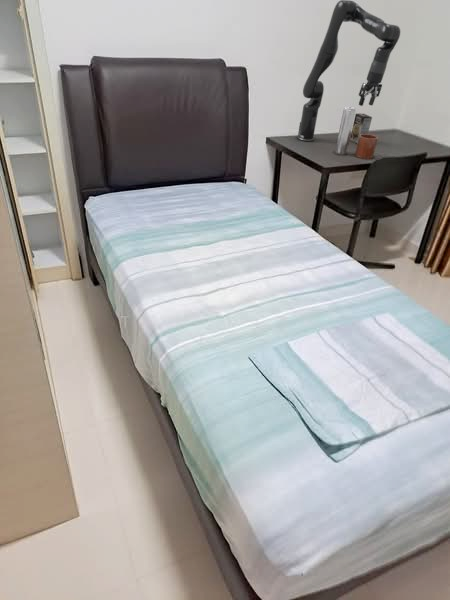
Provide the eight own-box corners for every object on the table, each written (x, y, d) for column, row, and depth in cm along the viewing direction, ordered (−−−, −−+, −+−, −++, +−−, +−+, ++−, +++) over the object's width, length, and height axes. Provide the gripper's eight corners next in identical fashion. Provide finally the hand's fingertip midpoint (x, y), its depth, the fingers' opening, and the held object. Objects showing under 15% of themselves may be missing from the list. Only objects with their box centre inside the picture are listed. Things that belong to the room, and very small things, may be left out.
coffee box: (349, 140, 278) (355, 113, 269) (357, 139, 280) (363, 113, 271) (357, 144, 271) (363, 116, 262) (365, 143, 273) (372, 116, 264)
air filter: (348, 154, 250) (358, 108, 236) (338, 155, 248) (348, 108, 234) (341, 151, 255) (351, 105, 241) (332, 151, 253) (342, 106, 239)
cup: (351, 154, 252) (356, 134, 245) (364, 152, 256) (369, 133, 249) (362, 159, 245) (367, 139, 238) (376, 158, 249) (381, 138, 242)
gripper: (379, 69, 222) (368, 102, 232) (362, 68, 214) (351, 103, 224) (391, 73, 218) (379, 107, 228) (374, 72, 210) (362, 107, 220)
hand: (365, 105), depth 226 cm, fingers open, 8 cm apart
